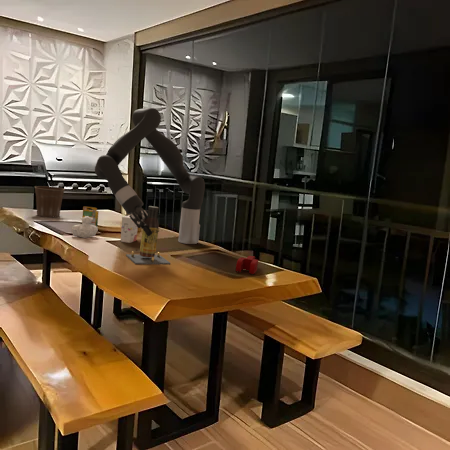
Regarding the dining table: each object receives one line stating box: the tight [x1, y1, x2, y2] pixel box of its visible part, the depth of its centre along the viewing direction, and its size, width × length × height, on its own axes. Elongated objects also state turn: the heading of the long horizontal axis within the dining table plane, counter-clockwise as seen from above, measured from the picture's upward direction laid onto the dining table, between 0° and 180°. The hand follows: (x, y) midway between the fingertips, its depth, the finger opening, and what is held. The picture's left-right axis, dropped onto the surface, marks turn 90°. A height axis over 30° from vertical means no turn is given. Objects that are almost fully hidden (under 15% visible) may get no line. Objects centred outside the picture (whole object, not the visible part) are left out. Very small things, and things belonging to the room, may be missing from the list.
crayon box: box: [81, 206, 99, 228], centre depth 237 cm, size 7×3×12 cm, turn 84°
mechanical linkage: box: [235, 255, 259, 275], centre depth 186 cm, size 16×7×5 cm, turn 167°
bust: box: [71, 216, 99, 239], centre depth 214 cm, size 12×8×11 cm
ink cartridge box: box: [120, 214, 139, 244], centre depth 218 cm, size 9×5×15 cm, turn 168°
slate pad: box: [125, 253, 171, 265], centre depth 184 cm, size 14×14×1 cm
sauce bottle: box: [139, 205, 160, 257], centre depth 183 cm, size 7×6×20 cm
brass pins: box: [130, 250, 161, 263], centre depth 183 cm, size 12×10×2 cm
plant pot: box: [34, 185, 66, 218], centre depth 265 cm, size 16×16×16 cm
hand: (154, 233), depth 182 cm, fingers closed on sauce bottle, 6 cm apart
